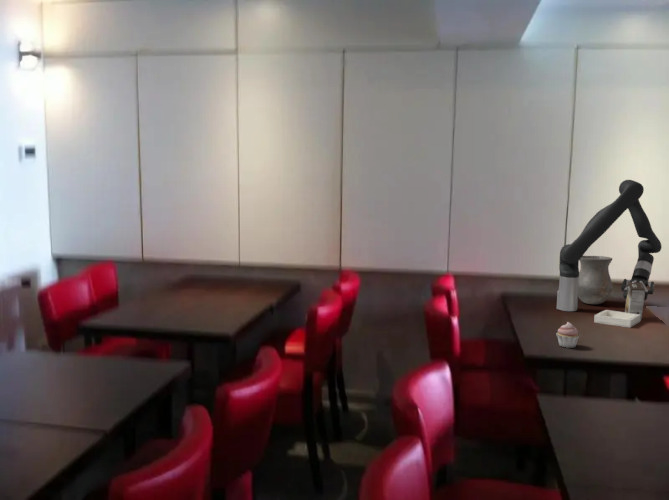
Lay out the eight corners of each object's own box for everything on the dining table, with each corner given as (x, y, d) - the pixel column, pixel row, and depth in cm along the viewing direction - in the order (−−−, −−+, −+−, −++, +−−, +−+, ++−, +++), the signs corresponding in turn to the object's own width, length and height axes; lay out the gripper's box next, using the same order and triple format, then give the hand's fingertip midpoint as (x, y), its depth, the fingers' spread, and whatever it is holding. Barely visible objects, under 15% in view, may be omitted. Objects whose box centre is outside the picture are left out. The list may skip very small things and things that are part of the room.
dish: (594, 322, 310) (594, 315, 310) (605, 316, 323) (605, 309, 322) (630, 327, 300) (630, 320, 300) (640, 321, 312) (640, 314, 312)
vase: (565, 301, 360) (567, 255, 357) (591, 298, 368) (593, 254, 365) (593, 308, 342) (595, 260, 339) (620, 305, 350) (623, 258, 347)
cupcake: (560, 341, 275) (561, 318, 274) (582, 345, 269) (584, 321, 268) (551, 346, 268) (552, 322, 266) (574, 350, 262) (575, 325, 261)
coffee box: (624, 312, 325) (627, 281, 320) (638, 313, 323) (641, 282, 318) (627, 320, 316) (631, 288, 311) (642, 320, 315) (646, 289, 310)
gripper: (625, 266, 328) (617, 292, 320) (656, 268, 319) (649, 295, 311) (628, 275, 333) (620, 301, 325) (658, 278, 324) (651, 305, 316)
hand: (634, 298), depth 318 cm, fingers closed on coffee box, 8 cm apart
